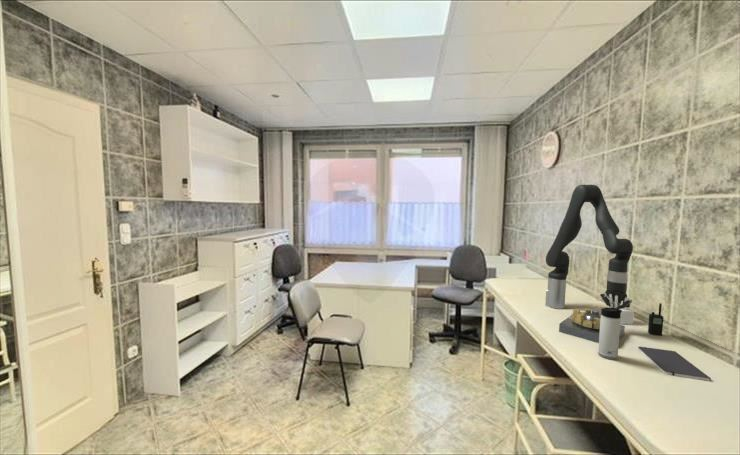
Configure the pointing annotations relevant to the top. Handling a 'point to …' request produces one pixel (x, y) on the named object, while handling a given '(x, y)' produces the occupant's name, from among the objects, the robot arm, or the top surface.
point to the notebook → (673, 363)
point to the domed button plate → (584, 328)
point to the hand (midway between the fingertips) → (614, 315)
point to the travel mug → (609, 333)
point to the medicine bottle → (626, 315)
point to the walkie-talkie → (656, 323)
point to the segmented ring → (580, 319)
